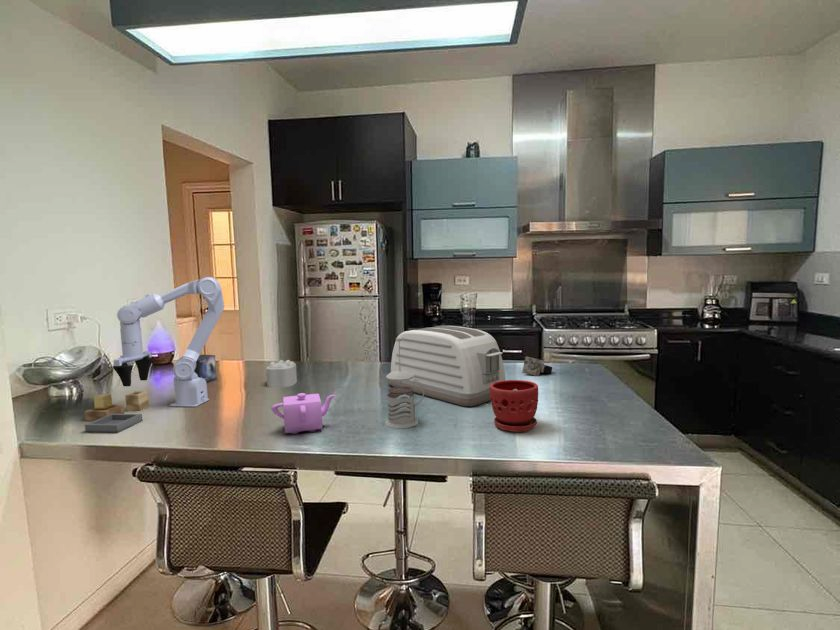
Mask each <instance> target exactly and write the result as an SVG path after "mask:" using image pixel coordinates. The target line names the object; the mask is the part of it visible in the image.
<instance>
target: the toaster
mask: <svg viewBox="0 0 840 630" xmlns="http://www.w3.org/2000/svg"><path fill="white" fill-rule="evenodd" d="M397 337H401V338H402V341H400V365H399V341H396V340H395V342H394V344H393V349H392V354H391V361H390V362H391V363H390V373H391V372H393V371H396V370H406V371H408V372H411V373H412V374H414V377H413V378H412V379H410V380H404V381H401V386H402V387H411V388H412V389H413V391H412V393H414V394H419V395H422V396H423V390H422V388H421V386H420V385H421V384H422V386H423V388H424V397H425V396H426V397H430V398H433V399H435V400H436V399H437V400H441V401H445V402H448V403H452V404H455V405H458V406H461V407H462V406H463V407H475V406H477V405H481V404H483V403H487V402H489V401H490V402H491V399H490V385H491V384H492V383H495V382H498V381H505V380H506V373H505V367H504V366H505V365H504V361H503V358H502V357H503V356H502V355H503V352H501V350H500V348H499V345H498V343H497V340H496V339H495V338H494V337H493V336H492V335H491V334H490V333H488V332H486V331H483V330H481V329H477V328H471V327H465V326H457V325H437V326H432V327H423V328H419V329H412V330H405V331H402V332H401V333H399V335H398V336H397ZM413 380H417V381H416V382H418V381H419V382H420V383H421V384H420V383H419V382H418V383H419V384H420V385H419V384H418V383H416V382H414V385H413ZM387 382H388V384H389V385H390V386H392V387H396V386H400V381H393V380H389V379H387Z"/></svg>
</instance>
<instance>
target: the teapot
mask: <svg viewBox="0 0 840 630" xmlns="http://www.w3.org/2000/svg"><path fill="white" fill-rule="evenodd" d="M336 396H337V394H330V395H329V396H327V397H326V399H325V402H324V405H323V406H322V400H321V397H320V394H319V393H311V394H310V393H309V394H306V393H305V392H301V393H297V394H296V395H290V396H283V397H282V400H283V401H282V402H280V403H276V404H275V403H274V405H272V406H271V408H270V409H271V411H272V412H273V414H274V415H276V416H277V417H279V418H281V419H282V420H283V423H284V426H283V427H284V434H289V433H290V434H292V435H296V434H299V433H300V432H310V433H311V432H312V433H313V432H316V431H317V430H323V417H325V416H326V414H327V413H328V410H329V408H330V407H329V406H330V403H331V402H332V399H333V398H334V397H336ZM279 407H282V408H283V413H281V412H280V411H279Z"/></svg>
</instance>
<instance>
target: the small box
mask: <svg viewBox="0 0 840 630" xmlns="http://www.w3.org/2000/svg"><path fill="white" fill-rule="evenodd" d="M216 364H217V363H216V355H215V354H200V355H199V357H198V359H197V361H196V368H195V370H194V372H195V373H196V374H197V375H198V377H199V378H203V379H205V381H206V384H209V383H211V382H213V381H216V380H217V379H218V378H217V365H216Z"/></svg>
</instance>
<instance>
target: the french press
mask: <svg viewBox="0 0 840 630" xmlns="http://www.w3.org/2000/svg"><path fill="white" fill-rule="evenodd" d="M395 341H399V365H400V341H402V338H401V337H398V336H397V337H396V338H395ZM413 377H414V374H412V373H411V372H408V371H406V370H396V371H393V372H391V371H390V372H389V373H388V374H387V375H386V376H385V378H386V379H387V380H388V379H389V380H393V381H400V386H396V387H393V386H392V387H390V388H389V389H387V392H388V393H387V397H386V398H387V419H386V420H385V421H384V425H385V426H387V427H389V428H393V429H394V428H395V429H405V428H406V429H408V428H411V427H414V426H416V425H418V423H419V420H418V418H417V417H416V407H417V406H418V405H420V404H421V403H423V400H424V397H425V395H424V388H423V386H422V384H421V383H420V382H419V381H418V382H419V383H420V384H421V385H420V384H419V383H418V382H416V381H417V380H413V385H414V382H416V383H418V384H419V385H420V386H421V388H422V390H423V395H422V397H421V399H420V400H419V401H417V402H415V393H414V392H412V391H413V389H412V388H411V387H402V386H401V381H404V380H410V379H412V378H413ZM405 395H406V396H405ZM407 396H409V397H407Z"/></svg>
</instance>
